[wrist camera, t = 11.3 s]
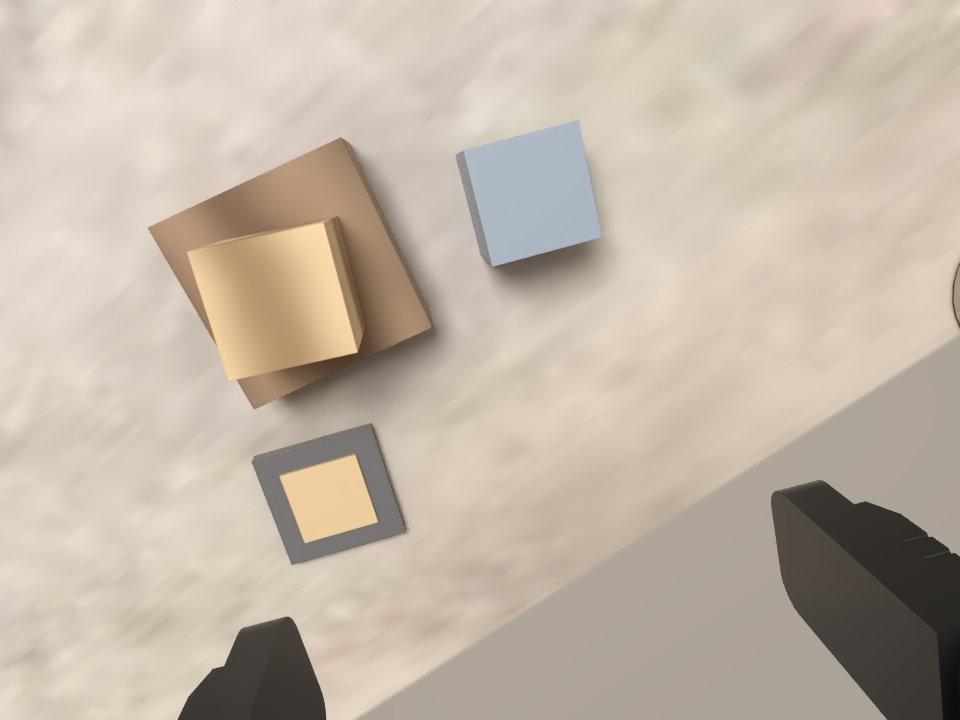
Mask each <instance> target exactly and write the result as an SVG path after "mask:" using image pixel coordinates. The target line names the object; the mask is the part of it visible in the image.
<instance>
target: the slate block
mask: <svg viewBox="0 0 960 720" xmlns="http://www.w3.org/2000/svg"><path fill="white" fill-rule="evenodd" d="M456 159H457V163H458V167H459V171H460V175H461V179H462V183H463V187H464V190H465V194H466V198H467V202H468V206H469V210H470V214H471V218H472V222H473V226H474V230H475V234H476V238H477V242H478V246H479V250H480V254H481V256H482V257H483V258H484V259H485V260H486V261H487V262H488V263H489V264H490V265H491V266H492V267H494V266H497V265H501V264H505V263H508V262H512V261H516V260H520V259H523V258H527V257H531V256H534V255H538V254H542V253H545V252H549V251H553V250H556V249H560V248H564V247H568V246H571V245H575V244H579V243H582V242H586V241H590V240H593V239H597V238H601V237H602V234H601V229H600V224H599V219H598V215H597V210H596V205H595V200H594V195H593V190H592V185H591V180H590V175H589V170H588V165H587V160H586V155H585V150H584V145H583V140H582V135H581V130H580V125H579V120H578V121H574V122H570V123H566V124H562V125H559V126H555V127H551V128H547V129H544V130H540V131H536V132H532V133H528V134H525V135H521V136H517V137H513V138H510V139H506V140H502V141H498V142H494V143H491V144H487V145H483V146H479V147H476V148H472V149H468V150H464V151H462V152H460V153H459V154H457V155H456Z"/></svg>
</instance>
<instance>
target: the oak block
mask: <svg viewBox="0 0 960 720" xmlns="http://www.w3.org/2000/svg"><path fill="white" fill-rule="evenodd" d="M187 254H188V257H189V260H190V263H191V266H192V270H193V273H194V276H195V279H196V282H197V285H198V288H199V291H200V294H201V297H202V300H203V304H204V307H205V310H206V313H207V316H208V319H209V322H210V325H211V328H212V331H213V334H214V338H215V341H216V344H217V347H218V350H219V353H220V356H221V359H222V362H223V365H224V369H225V372H226V375H227V378H228V381H232V380H236V379H241V378H245V377H250V376H254V375H259V374H263V373H268V372H272V371H277V370H281V369H286V368H290V367H295V366H299V365H304V364H308V363H313V362H317V361H322V360H326V359H331V358H335V357H340V356H344V355H349V354H353V353H358V350H359V346H360V343H361V339H362V336H363V333H364V329H365V326H366V325H365V321H364V317H363V313H362V309H361V306H360V302H359V298H358V294H357V290H356V286H355V282H354V278H353V274H352V271H351V267H350V263H349V259H348V255H347V251H346V247H345V243H344V239H343V236H342V232H341V228H340V224H339V220H338V216H334V217H330V218H325V219H320V220H316V221H311V222H306V223H302V224H297V225H292V226H287V227H283V228H278V229H273V230H269V231H264V232H259V233H255V234H250V235H245V236H240V237H236V238H231V239H226V240H222V241H219V242H216V243H213V244H210V245H207V246H204V247H201V248H197V249H194V250H191V251H188V252H187Z"/></svg>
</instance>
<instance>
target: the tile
mask: <svg viewBox="0 0 960 720" xmlns="http://www.w3.org/2000/svg"><path fill="white" fill-rule="evenodd" d="M252 464H253V467H254V469H255V472H256V474H257V477H258V479H259V482H260V485H261V487H262V490H263V492H264V495H265V497H266V500H267V503H268V505H269V508H270V510H271V513H272V515H273V518H274V521H275V523H276V526H277V528H278V531H279V533H280V536H281V539H282V541H283V544H284V546H285V549H286V551H287V554H288V557H289V559H290V562H291V564H292V565H294V564H298V563H301V562H305V561H308V560H312V559H315V558H318V557H322V556H325V555H329V554H332V553H336V552H339V551H343V550H346V549H350V548H353V547H357V546H360V545H364V544H367V543H371V542H374V541H378V540H381V539H385V538H388V537H392V536H395V535H399V534H402V533H405V526H404V523H403V520H402V517H401V514H400V511H399V508H398V504H397V501H396V498H395V495H394V492H393V489H392V486H391V483H390V480H389V477H388V474H387V471H386V468H385V465H384V462H383V459H382V456H381V453H380V450H379V447H378V444H377V441H376V438H375V435H374V431H373V428H372V425H371V423H370V424H367V425H363V426H360V427H356V428H353V429H349V430H346V431H342V432H339V433H335V434H331V435H328V436H324V437H321V438H317V439H314V440H310V441H307V442H303V443H299V444H296V445H292V446H289V447H285V448H282V449H278V450H275V451H271V452H268V453H264V454H260V455H257V456H254V458H253V460H252Z"/></svg>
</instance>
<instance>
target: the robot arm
mask: <svg viewBox="0 0 960 720" xmlns="http://www.w3.org/2000/svg"><path fill="white" fill-rule="evenodd" d="M954 306H955V312H956V316H957V319H958V321H959V323H960V266H959V268H958V271H957V276H956V280H955V284H954ZM771 506H772V514H773V521H774V528H775V535H776V542H777V548H778V556H779V563H780V570H781V575H782V580H783V583H784V586H785V589H786V592H787V594H788V596H789V598H790V600H791V602H792V604H793V606H794V608H795V609H796V611H797V612H798V613H799V615H800V616H801V617H802V618H803V620H804V621H805V622H806V623H807V624H808V626H809V627H810V628H811V629H812V630H813V631H814V633H815V634H816V635H817V636H818V637H819V638H820V640H821V641H822V642H823V644H824V645H825V646H826V647H827V648H828V649H829V650H830V652H831V653H832V654H833V655H834V656H835V658H836V659H837V660H838V661H839V662H840V664H841V665H842V666H843V667H844V668H845V669H846V671H847V672H848V673H849V674H850V676H851V677H852V678H853V679H854V680H855V682H856V683H857V684H858V685H859V686H860V688H861V689H862V690H863V691H864V692H865V694H866V695H867V696H868V697H869V698H870V700H872V702H873V703H874V704H875V705H876V707H877V708H878V709H879V710H880V711H881V713H882V714H883V715H884V716H885V717H886V719H887V720H960V556H958V555H957V554H955V553H953V554H951V552H950V551H949V549H948V548H947V547H946V546H944V545H943V544H942V543H940V542H939V541H938V540H936V539H934V538H933V537H928V535H927V533H926V532H925V531H924V530H922V529H921V528H919V527H918V526H917V525H915V524H914V523H912V522H911V521H910V520H908V519H907V518H905V517H904V516H903V515H901V514H899V513H896V512H894V511H891V510H888V509H885V508H882V507H880V506H877V505H874V504H871V503H868V502H866V501H865V502H862V503H858V504H853V503H852V502H850V501H849V500H848V499H847V498H845V497H844V496H842V495H841V494H840V493H839V492H838V491H836V490H835V489H834V488H832V487H831V486H830V485H829V484H827V483H826V482H824V481H822V480H817V481H814V482H810V483H806V484H802V485H798V486H794V487H791V488H787V489H783V490H779V491H775V492H774V493H773V494H772V498H771ZM178 720H326V710H325V703H324V698H323V695H322V691H321V689H320V686H319V683H318V681H317V678H316V676H315V673H314V670H313V668H312V665H311V662H310V660H309V657H308V655H307V652H306V649H305V647H304V644H303V642H302V639H301V636H300V634H299V631H298V629H297V626H296V624H295V622H294V621H293V620H292V619H291V618H290V617H283V618H280V619H276V620H272V621H268V622H264V623H260V624H256V625H253V626H249V627H245V628H243V629H241V630H240V631H239V633H238V635H237V637H236V640H235V642H234V644H233V647H232V649H231V651H230V654H229V656H228V658H227V661H226V663H225V665H224V666H223V667H219V668H215V669H212V671H211V672H210V673H209V674H208V675H207V676H206V677H205V679H204V680H203V681H202V682H201V683H200V684H199V685H198V687H197V688H196V689H195V690H194V691H193V692H192V693H191V695H190V696H189V697H188V699H187V701H186V703H185V705H184V707H183V710H182V712H181V714H180V716H179V718H178Z"/></svg>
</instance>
